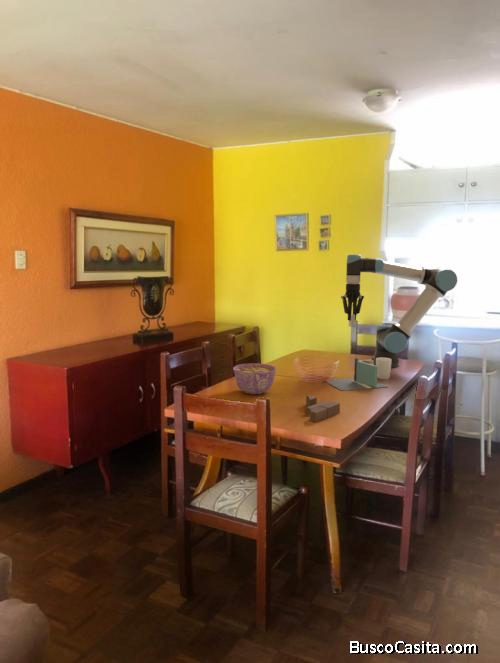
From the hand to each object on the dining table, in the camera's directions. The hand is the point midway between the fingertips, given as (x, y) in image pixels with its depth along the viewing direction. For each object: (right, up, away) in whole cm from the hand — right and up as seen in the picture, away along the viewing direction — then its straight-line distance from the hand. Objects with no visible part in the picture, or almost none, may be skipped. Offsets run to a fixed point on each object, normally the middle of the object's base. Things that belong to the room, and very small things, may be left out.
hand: (351, 326), depth 285 cm
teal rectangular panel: (+1, -28, -30) cm, 41 cm away
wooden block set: (-31, -37, -74) cm, 88 cm away
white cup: (+14, -27, -14) cm, 33 cm away
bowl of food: (-54, -31, -43) cm, 76 cm away
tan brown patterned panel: (+2, -28, -21) cm, 35 cm away
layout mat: (-4, -29, -27) cm, 40 cm away
